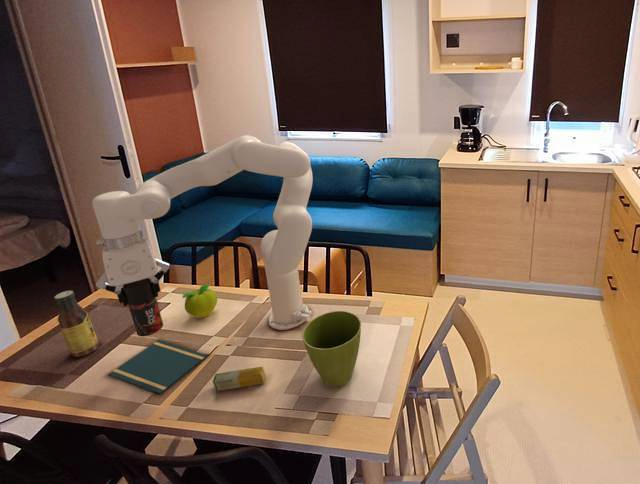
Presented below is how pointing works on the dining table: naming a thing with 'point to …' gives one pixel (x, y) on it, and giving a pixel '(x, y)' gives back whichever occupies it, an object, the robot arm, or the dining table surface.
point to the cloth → (158, 366)
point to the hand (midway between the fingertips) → (141, 298)
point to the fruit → (200, 301)
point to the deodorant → (143, 307)
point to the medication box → (239, 378)
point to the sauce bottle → (75, 325)
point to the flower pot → (333, 345)
